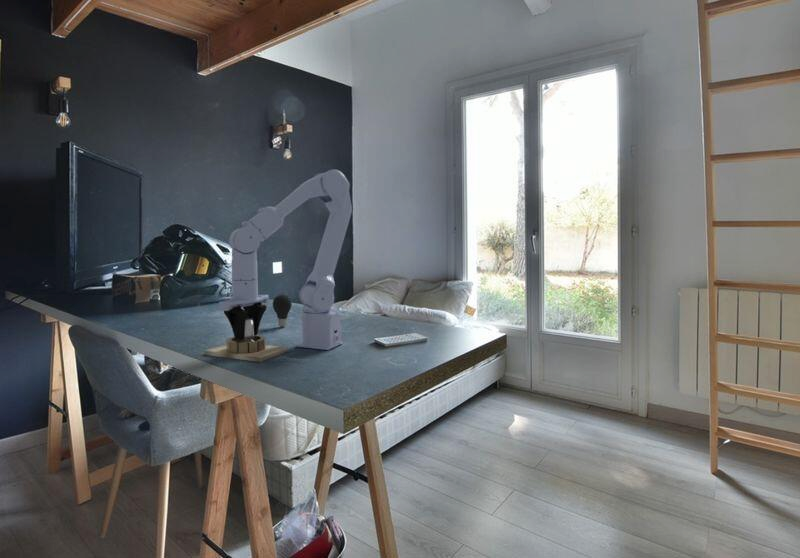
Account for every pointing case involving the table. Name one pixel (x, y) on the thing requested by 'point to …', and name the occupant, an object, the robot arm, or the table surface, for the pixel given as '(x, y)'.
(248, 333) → the bayonet cap
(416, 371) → the table surface
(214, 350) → the socket base
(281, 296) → the light bulb
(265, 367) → the table surface
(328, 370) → the table surface
